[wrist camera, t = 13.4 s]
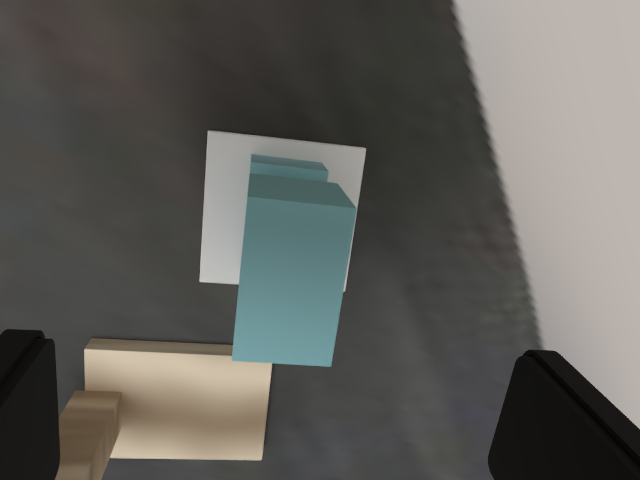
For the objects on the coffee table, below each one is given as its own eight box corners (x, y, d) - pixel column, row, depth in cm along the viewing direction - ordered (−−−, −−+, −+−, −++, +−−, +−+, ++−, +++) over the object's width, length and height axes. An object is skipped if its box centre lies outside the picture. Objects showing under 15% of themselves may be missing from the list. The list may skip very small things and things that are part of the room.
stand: (81, 337, 28) (-49, 529, 16) (275, 347, 29) (287, 528, 17) (83, 442, 30) (-31, 681, 18) (264, 446, 31) (268, 668, 19)
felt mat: (208, 130, 25) (207, 131, 24) (364, 147, 26) (366, 148, 26) (200, 278, 27) (199, 281, 27) (343, 288, 28) (345, 291, 28)
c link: (251, 153, 25) (247, 196, 16) (321, 162, 26) (356, 208, 17) (240, 265, 27) (231, 361, 18) (306, 271, 27) (331, 366, 18)
